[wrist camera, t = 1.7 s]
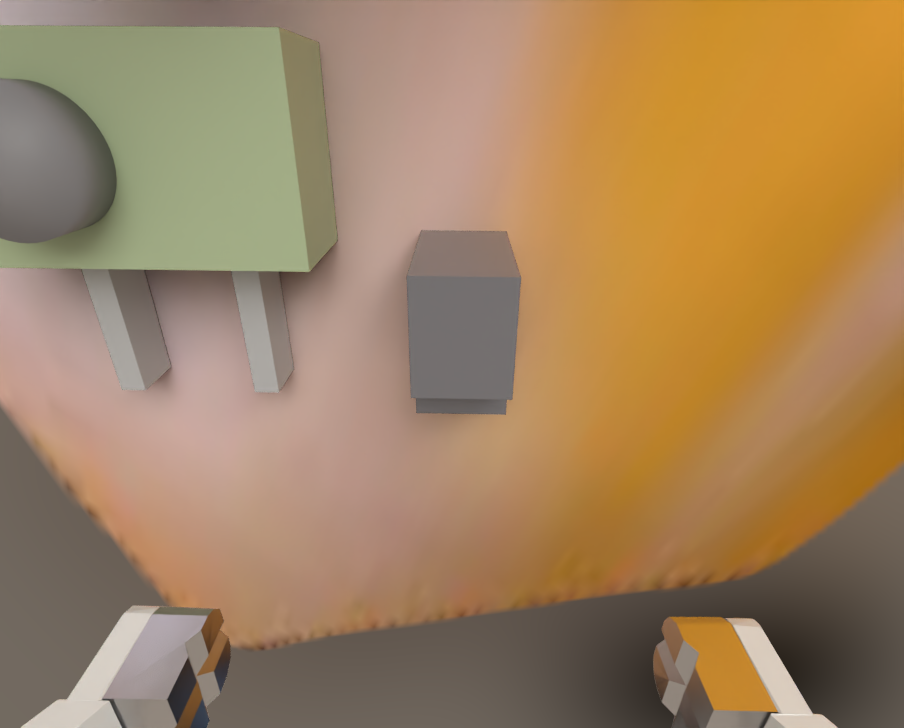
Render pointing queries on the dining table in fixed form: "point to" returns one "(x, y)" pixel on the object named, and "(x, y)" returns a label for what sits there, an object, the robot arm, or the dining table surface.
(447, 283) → the upright grey box
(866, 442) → the dining table surface
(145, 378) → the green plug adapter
